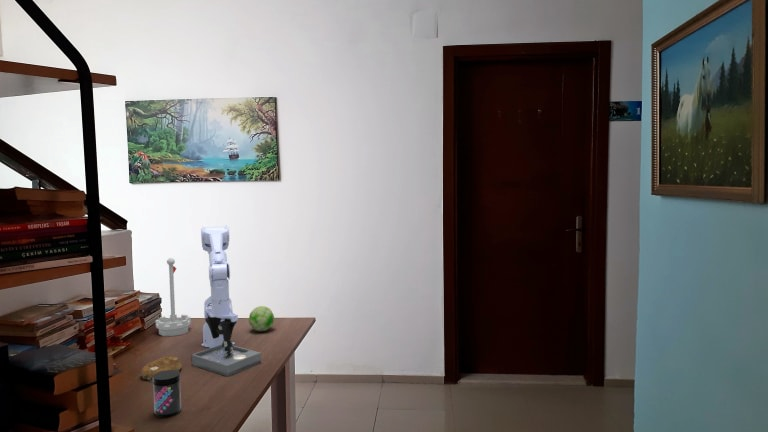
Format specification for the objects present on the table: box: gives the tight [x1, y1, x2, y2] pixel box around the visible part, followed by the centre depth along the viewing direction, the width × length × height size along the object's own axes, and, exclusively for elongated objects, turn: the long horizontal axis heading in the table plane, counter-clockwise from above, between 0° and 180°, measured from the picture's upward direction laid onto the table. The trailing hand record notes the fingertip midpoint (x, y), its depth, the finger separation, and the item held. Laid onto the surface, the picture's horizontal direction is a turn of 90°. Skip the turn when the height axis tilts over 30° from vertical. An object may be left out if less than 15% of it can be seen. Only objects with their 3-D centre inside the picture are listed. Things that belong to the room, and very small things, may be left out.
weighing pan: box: [200, 348, 244, 362], centre depth 177 cm, size 12×12×1 cm
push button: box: [216, 325, 234, 356], centre depth 177 cm, size 7×5×10 cm
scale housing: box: [190, 344, 262, 377], centre depth 176 cm, size 18×14×4 cm
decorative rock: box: [140, 356, 183, 383], centre depth 169 cm, size 11×4×15 cm
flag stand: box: [155, 257, 192, 337], centre depth 210 cm, size 13×13×30 cm
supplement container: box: [152, 370, 182, 418], centre depth 141 cm, size 7×7×10 cm
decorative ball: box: [248, 305, 275, 332], centre depth 211 cm, size 10×10×10 cm
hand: (221, 339), depth 176 cm, fingers closed on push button, 5 cm apart
